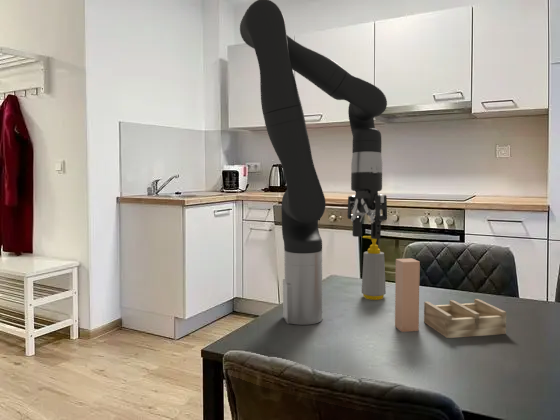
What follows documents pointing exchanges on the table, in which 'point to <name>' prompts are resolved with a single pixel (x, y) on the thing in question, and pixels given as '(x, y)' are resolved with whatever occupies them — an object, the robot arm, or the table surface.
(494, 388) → the table surface
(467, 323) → the rack
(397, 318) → the clay bar
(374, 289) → the soap bottle
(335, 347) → the table surface
